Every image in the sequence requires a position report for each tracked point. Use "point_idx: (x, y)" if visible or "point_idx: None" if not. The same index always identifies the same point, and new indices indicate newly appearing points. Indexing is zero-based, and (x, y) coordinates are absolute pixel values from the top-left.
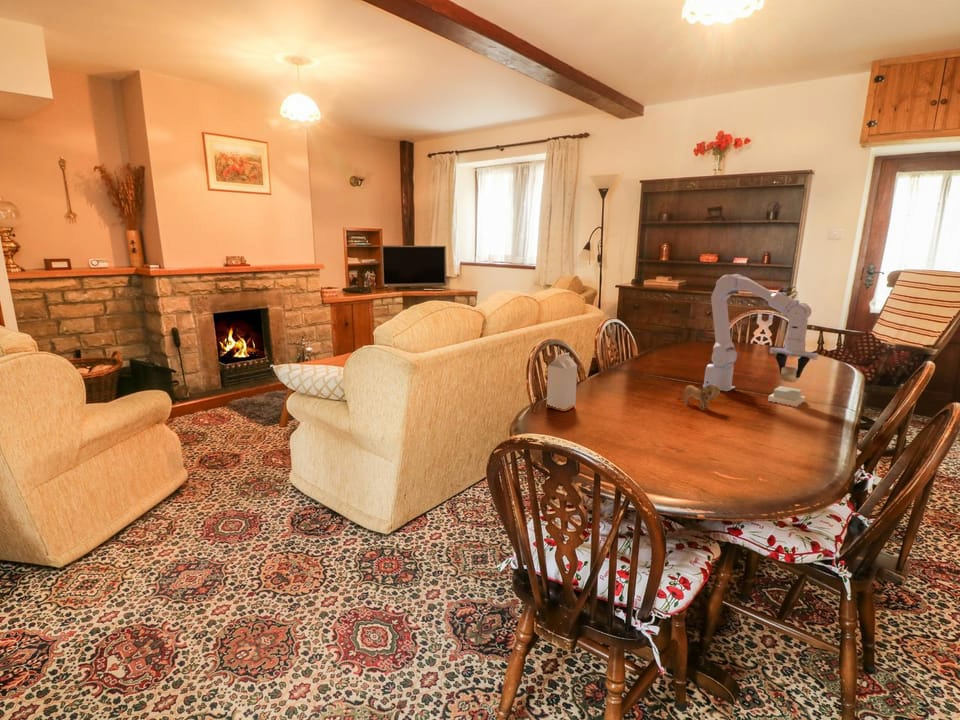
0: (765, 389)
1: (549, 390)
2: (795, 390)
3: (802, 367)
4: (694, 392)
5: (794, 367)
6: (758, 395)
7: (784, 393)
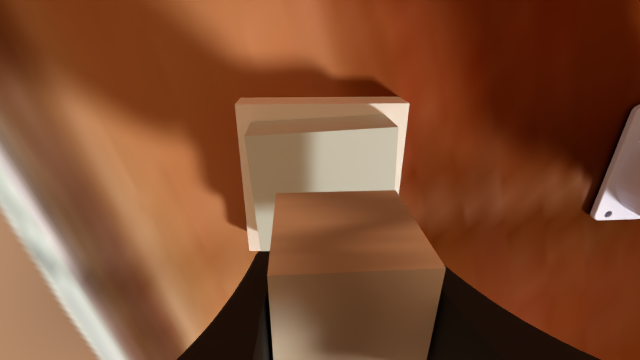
0: None
1: None
2: None
3: (197, 347)
4: None
5: None
6: (463, 171)
7: (323, 127)
